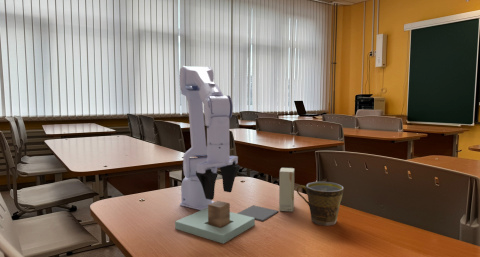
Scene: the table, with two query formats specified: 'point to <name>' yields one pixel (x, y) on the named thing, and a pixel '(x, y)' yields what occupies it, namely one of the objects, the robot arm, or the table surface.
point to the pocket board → (200, 226)
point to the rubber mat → (258, 212)
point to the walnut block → (219, 214)
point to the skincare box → (286, 189)
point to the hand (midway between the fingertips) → (218, 195)
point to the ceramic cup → (323, 201)
